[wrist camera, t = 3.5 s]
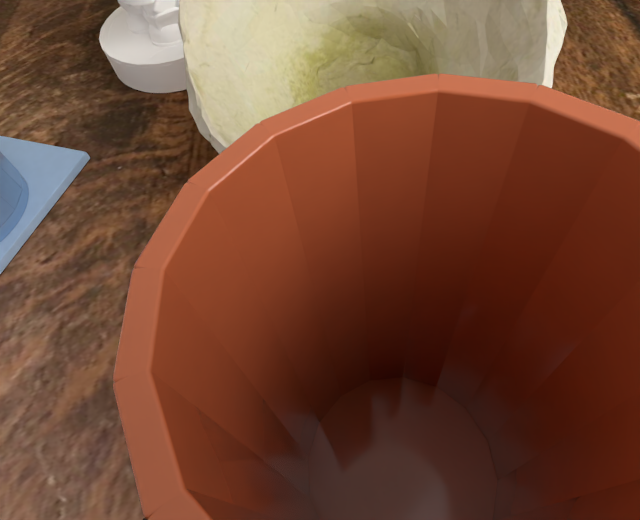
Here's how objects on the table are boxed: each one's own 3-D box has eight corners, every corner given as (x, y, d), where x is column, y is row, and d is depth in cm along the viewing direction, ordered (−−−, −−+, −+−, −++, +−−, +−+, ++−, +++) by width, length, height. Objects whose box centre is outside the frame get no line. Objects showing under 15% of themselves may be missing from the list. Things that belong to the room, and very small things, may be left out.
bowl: (198, 272, 21) (75, 84, 13) (246, 75, 28) (189, -127, 20) (547, 274, 19) (679, 52, 11) (501, 61, 26) (557, -169, 18)
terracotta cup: (488, 634, 13) (1002, 1026, 2) (270, 545, 15) (-29, 524, 4) (516, 403, 16) (783, 108, 6) (334, 352, 18) (264, 52, 7)
